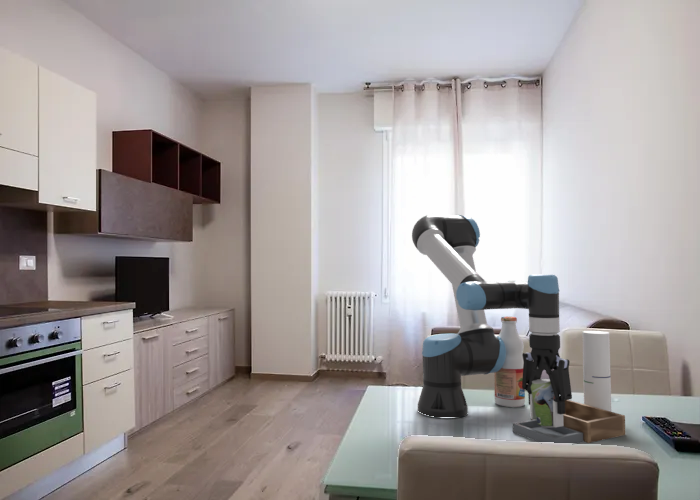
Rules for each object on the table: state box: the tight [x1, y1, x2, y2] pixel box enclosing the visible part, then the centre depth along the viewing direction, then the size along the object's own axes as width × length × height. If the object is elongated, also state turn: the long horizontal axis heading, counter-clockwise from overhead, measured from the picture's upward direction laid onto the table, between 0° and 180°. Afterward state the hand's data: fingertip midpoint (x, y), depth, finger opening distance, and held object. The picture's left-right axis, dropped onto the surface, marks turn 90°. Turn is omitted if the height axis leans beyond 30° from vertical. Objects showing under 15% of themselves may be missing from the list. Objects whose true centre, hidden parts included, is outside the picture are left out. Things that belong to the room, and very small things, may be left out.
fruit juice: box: [493, 316, 526, 408], centre depth 163 cm, size 9×9×28 cm
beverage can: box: [531, 378, 555, 428], centre depth 130 cm, size 6×7×12 cm
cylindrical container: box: [581, 330, 612, 412], centre depth 146 cm, size 7×7×25 cm
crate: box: [530, 399, 626, 444], centre depth 137 cm, size 19×14×5 cm
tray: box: [512, 419, 584, 444], centre depth 130 cm, size 14×10×2 cm
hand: (546, 422), depth 130 cm, fingers closed on beverage can, 7 cm apart
